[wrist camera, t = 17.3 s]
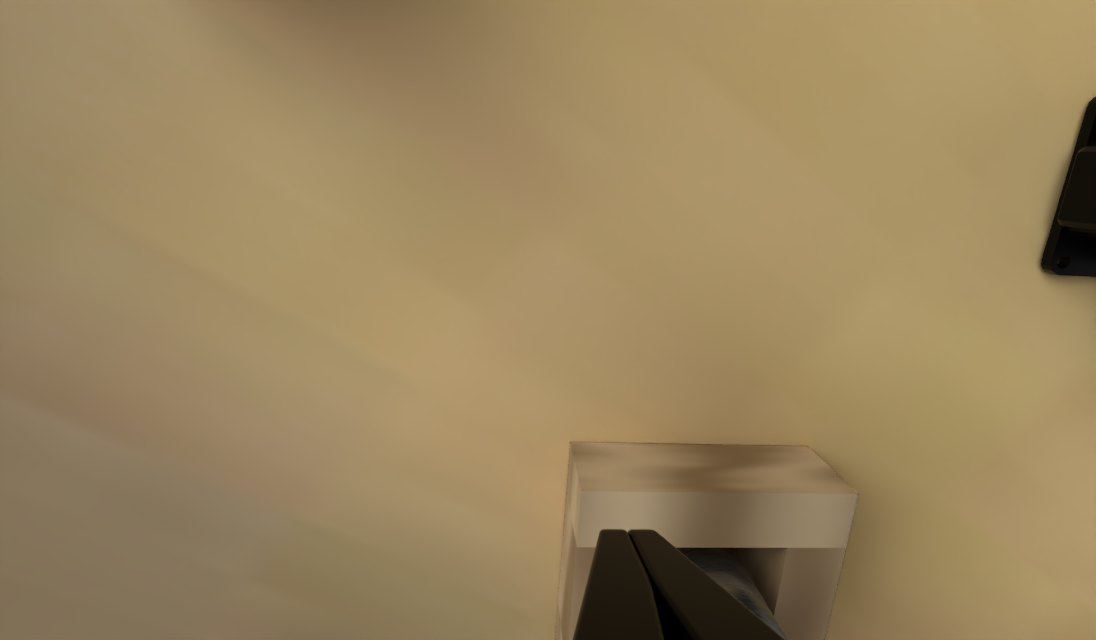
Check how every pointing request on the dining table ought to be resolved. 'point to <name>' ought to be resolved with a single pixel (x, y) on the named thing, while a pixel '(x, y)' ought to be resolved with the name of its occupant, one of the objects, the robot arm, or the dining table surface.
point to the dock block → (715, 518)
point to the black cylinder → (733, 579)
